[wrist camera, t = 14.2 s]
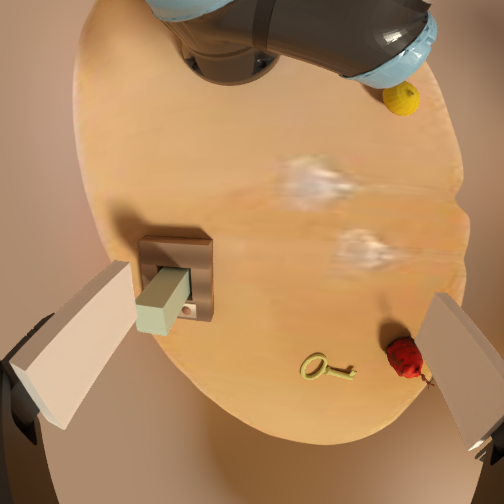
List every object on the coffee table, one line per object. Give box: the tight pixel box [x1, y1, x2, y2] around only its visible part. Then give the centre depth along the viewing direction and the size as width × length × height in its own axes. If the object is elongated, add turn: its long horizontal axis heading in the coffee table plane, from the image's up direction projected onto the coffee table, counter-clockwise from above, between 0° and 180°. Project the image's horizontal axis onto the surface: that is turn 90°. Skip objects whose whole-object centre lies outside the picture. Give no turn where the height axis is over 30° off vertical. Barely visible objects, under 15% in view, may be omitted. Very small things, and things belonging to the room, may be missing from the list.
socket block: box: [138, 236, 214, 322], centre depth 45 cm, size 14×12×3 cm
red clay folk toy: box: [386, 337, 434, 389], centre depth 42 cm, size 8×7×15 cm
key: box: [300, 354, 357, 380], centre depth 51 cm, size 7×12×2 cm, turn 89°
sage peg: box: [135, 266, 192, 336], centre depth 40 cm, size 4×4×14 cm
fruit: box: [382, 81, 420, 116], centre depth 30 cm, size 6×6×8 cm
